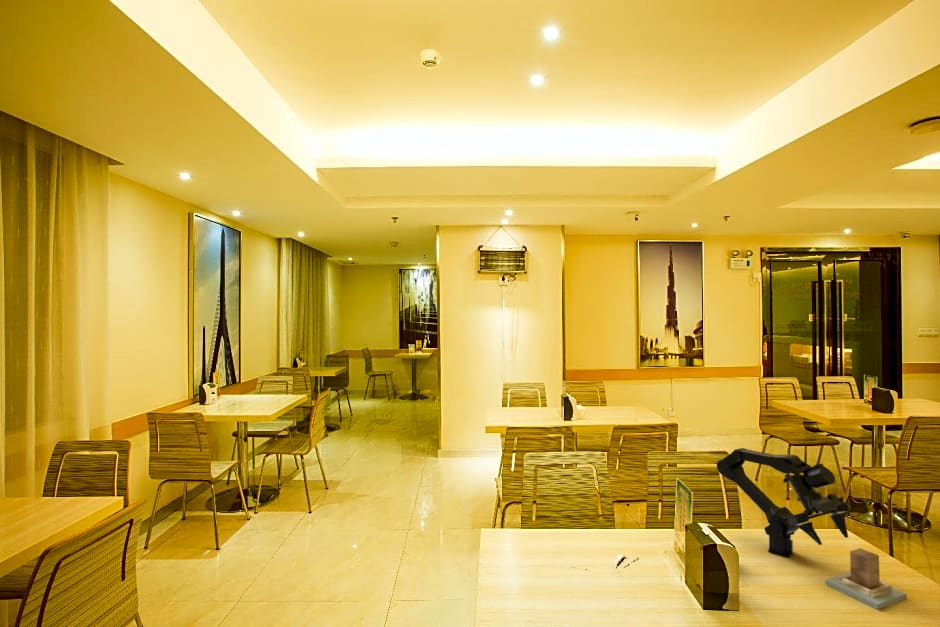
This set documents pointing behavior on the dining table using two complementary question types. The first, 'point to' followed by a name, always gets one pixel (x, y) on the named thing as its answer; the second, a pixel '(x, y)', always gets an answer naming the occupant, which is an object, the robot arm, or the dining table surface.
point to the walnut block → (865, 568)
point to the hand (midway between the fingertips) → (833, 541)
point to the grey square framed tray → (867, 591)
